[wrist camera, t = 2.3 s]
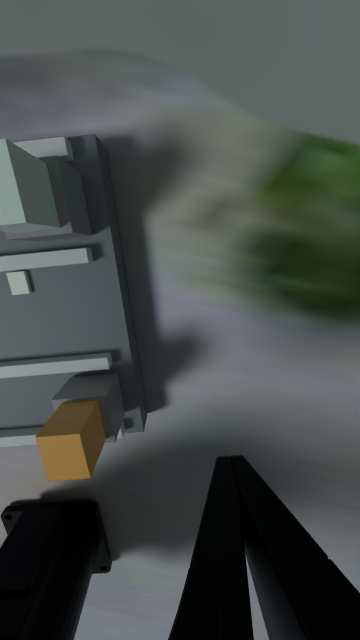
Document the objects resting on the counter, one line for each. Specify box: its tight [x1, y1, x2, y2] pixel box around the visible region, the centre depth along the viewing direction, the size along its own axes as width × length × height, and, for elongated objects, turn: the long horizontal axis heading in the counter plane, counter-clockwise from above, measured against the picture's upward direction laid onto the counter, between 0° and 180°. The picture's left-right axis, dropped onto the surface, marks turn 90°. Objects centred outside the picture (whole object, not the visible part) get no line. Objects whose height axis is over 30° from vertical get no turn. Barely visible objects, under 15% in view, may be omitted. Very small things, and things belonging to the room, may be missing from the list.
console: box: [0, 134, 147, 447], centre depth 12 cm, size 14×11×2 cm
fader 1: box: [0, 138, 92, 241], centre depth 9 cm, size 2×2×4 cm
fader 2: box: [35, 373, 125, 481], centre depth 11 cm, size 2×2×4 cm
